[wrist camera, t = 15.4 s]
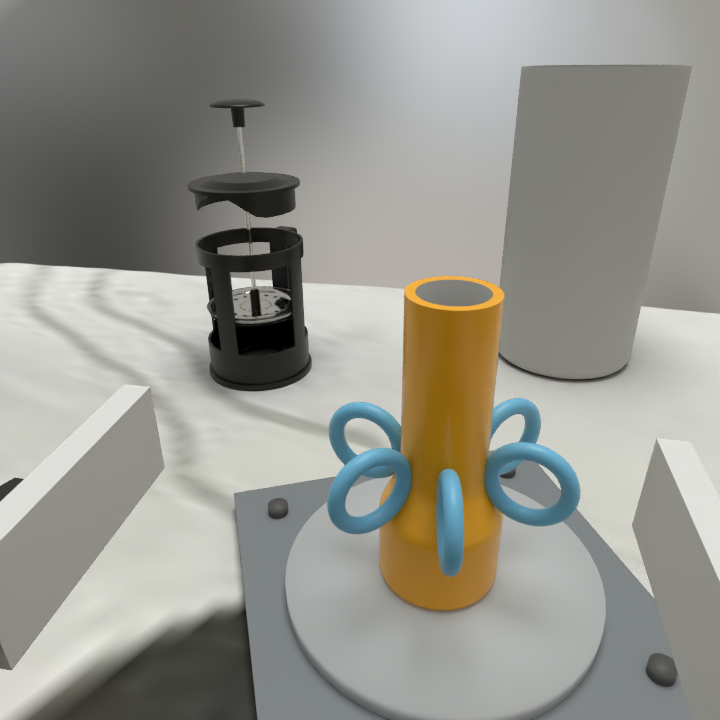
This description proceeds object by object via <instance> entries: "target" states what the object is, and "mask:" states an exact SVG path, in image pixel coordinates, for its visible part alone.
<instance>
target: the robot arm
mask: <svg viewBox="0 0 720 720" xmlns="http://www.w3.org/2000/svg"><path fill="white" fill-rule="evenodd" d="M164 468H165V467H164V461H163V456H162V450H161V445H160V439H159V434H158V428H157V423H156V417H155V412H154V406H153V400H152V395H151V389H150V387H145V386H135V385H126V384H124V385H123V386H122V387H121V388H120V389H119V390H118V391H117V392H116V393H115V394H114V395H113V396H112V397H110V398H109V399H108V400H107V401H106V402H105V403H104V404H103V405H102V406H101V407H100V408H99V409H98V410H97V411H96V412H95V413H94V414H92V415H91V416H90V417H89V418H88V419H87V420H86V421H85V422H84V423H83V424H82V425H81V426H80V427H79V428H78V429H77V430H76V431H75V432H73V433H72V434H71V435H70V436H69V437H68V438H67V439H66V440H65V441H64V442H63V443H62V444H61V445H60V446H59V447H58V448H57V449H55V450H54V451H53V452H52V453H51V454H50V455H49V456H48V457H47V458H46V459H45V460H44V461H43V462H42V463H41V464H40V465H39V466H37V467H36V468H35V469H34V470H33V471H32V472H31V473H30V474H29V475H28V476H27V477H26V478H25V479H20V478H14V479H12V480H10V481H8V482H6V483H5V484H3V485H1V486H0V668H1V669H7V670H12V669H13V668H14V667H15V665H16V664H17V663H18V661H19V660H20V659H21V657H22V656H23V655H24V653H25V652H26V651H27V649H28V648H29V647H30V645H31V644H32V643H33V641H34V640H35V639H36V637H37V636H38V635H39V634H40V632H41V631H42V630H43V628H44V627H45V626H46V624H47V623H48V622H49V620H50V619H51V618H52V616H53V615H54V614H55V612H56V611H57V610H58V608H59V607H60V606H61V604H62V603H63V602H64V600H65V599H66V598H67V596H68V595H69V594H70V592H71V591H72V590H73V588H74V587H75V586H76V584H77V583H78V582H79V580H80V579H81V578H82V576H83V575H84V574H85V572H86V571H87V570H88V569H89V567H90V566H91V565H92V563H93V562H94V561H95V559H96V558H97V557H98V555H99V554H100V553H101V551H102V550H103V549H104V547H105V546H106V545H107V543H108V542H109V541H110V539H111V538H112V537H113V535H114V534H115V533H116V531H117V530H118V529H119V527H120V526H121V525H122V523H123V522H124V521H125V519H126V518H127V517H128V515H129V514H130V513H131V511H132V510H133V509H134V508H135V506H136V505H137V504H138V502H139V501H140V500H141V498H142V497H143V496H144V494H145V493H146V492H147V490H148V489H149V488H150V486H151V485H152V484H153V482H154V481H155V480H156V478H157V477H158V476H159V474H160V473H161V472H162V470H163V469H164ZM632 527H633V530H634V533H635V536H636V540H637V543H638V546H639V549H640V552H641V556H642V559H643V562H644V565H645V569H646V572H647V575H648V578H649V582H650V585H651V588H652V591H653V594H654V598H655V601H656V604H657V607H658V611H659V614H660V617H661V620H662V623H663V627H664V630H665V633H666V636H667V640H668V643H669V646H670V649H671V653H672V656H673V659H674V662H675V665H676V669H677V672H678V675H679V678H680V682H681V685H682V688H683V691H684V694H685V698H686V701H687V704H688V707H689V711H690V714H691V717H692V720H720V497H719V495H718V493H717V491H716V489H715V488H714V486H713V484H712V482H711V480H710V478H709V476H708V474H707V472H706V470H705V468H704V467H703V465H702V463H701V461H700V459H699V457H698V455H697V453H696V451H695V449H694V447H693V445H692V444H691V442H687V441H678V440H668V439H658V438H657V439H656V442H655V446H654V449H653V453H652V456H651V460H650V463H649V467H648V471H647V474H646V478H645V481H644V485H643V488H642V492H641V495H640V499H639V502H638V506H637V509H636V513H635V517H634V520H633V524H632Z"/></svg>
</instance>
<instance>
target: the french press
mask: <svg viewBox="0 0 720 720" xmlns="http://www.w3.org/2000/svg"><path fill="white" fill-rule="evenodd" d="M209 106H210V107H213V108H231V114H232V121H233V126H234V127H237V134H238V143H239V144H238V145H239V155H240V166H241V172H238V173H228V174H222V175H214V176H209V177H203V178H199V179H196V180H193V181H191V182H189V184H188V190H189V191H191V192H193V193H195V201H196V208H197V210H199V209H200V208H202V207H203V206H205V205H208V204H211V203H215V202H220V201H226V200H228V201H230V202H232V203H234V204H236V205H237V206H239V207H240V208H242V209H243V210H245V218H246V228H241V229H232V230H226V231H221V232H217V233H213V234H210V235H207V236H205V237H203V238H201V239H199V240H198V241H197V243H196V251H197V259H198V262H199V263H200V265H202V266H204V267H205V269H206V277H207V285H208V293H209V300H210V301H209V303H208V305H207V309H208V311H209V312H210V314H211V316H212V323H213V331H212V332H211V333H210V335H209V337H208V340H209V348H210V356H211V364H210V374H211V376H212V377H213V379H214V380H215V381H216V382H217V383H219V384H221V385H223V386H226V387H229V388H232V389H238V390H247V391H258V390H269V389H275V388H279V387H283V386H286V385H289V384H292V383H294V382H296V381H298V380H299V379H301V378H302V377H304V376H305V375H306V374H307V373H308V372H309V370H310V368H311V362H312V360H311V356H310V354H309V349H308V331H307V328H306V327H305V326H304V308H303V290H302V272H301V258H302V257H303V238H302V236H301V235H299V234H298V233H297V229H296V228H293V227H284V226H279V227H276V228H251V225H250V214H252V215H254V216H256V217H264V218H267V217H273V216H278V215H282V214H285V213H288V212H290V211H292V210H294V209H295V188H296V187H298V186H299V185H300V181H299V179H298V178H296V177H294V176H290V175H285V174H277V173H262V172H246V171H245V160H244V149H243V138H242V127H245V117H244V108H247V107H260V106H264V103H262V102H260V101H257V100H251V99H228V100H220V101H216V102H213V103H211V104H210V105H209ZM249 213H250V214H249ZM246 242H248V250H249V255H248V256H232V255H231V256H230V255H219V254H218V252H217V248H218V247H222V246H225V245H231V244H237V243H246ZM252 242H270V253H269V254H261V255H253V248H252ZM265 270H272V280H273V287H266V286H262V287H256V280H255V272H256V271H265ZM230 272H251V282H252V287H247V288H241V289H236V290H232V285H231V276H230ZM256 348H277V349H283V350H281V351H278V352H273V353H267V354H259V355H242V354H239V353H240V352H242V351H246V350H250V349H256Z"/></svg>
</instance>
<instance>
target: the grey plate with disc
mask: <svg viewBox="0 0 720 720" xmlns="http://www.w3.org/2000/svg"><path fill="white" fill-rule="evenodd" d="M493 452H494V451H489V456H490V455H491V454H492V453H493ZM393 475H394V474H393ZM393 475H392V476H393ZM392 476H389V477H386V478H369V477H365V476H362V475H361V476H360V477H359V478H358V479H357V480H356V481H355V483H354V484H353V485H352V487H351V488H350V490H349V492H348V494H347V497H346V502H345V507H346V511H347V512H348V514H350V515H351V516H357V517H358V516H364V515H367V514H369V513H371V512H373V511H375V510H376V509H377V508H379V506H380V498H381V495H382V492H383V490H384V488H385V486H386V485H387V483H388V482H389V480H390V479H391V478H392ZM335 478H336V477H330V478H324V479H318V480H312V481H306V482H300V483H294V484H288V485H281V486H275V487H269V488H263V489H257V490H251V491H245V492H239V493H234V499H235V508H236V518H237V528H238V537H239V547H240V556H241V566H242V575H243V585H244V595H245V604H246V614H247V623H248V633H249V642H250V652H251V662H252V671H253V681H254V690H255V700H256V709H257V719H258V720H692V717H691V714H690V711H689V707H688V704H687V701H686V698H685V694H684V691H683V688H682V685H681V682H680V678H679V675H678V672H677V669H676V665H675V662H674V659H673V656H672V653H671V649H670V646H669V643H668V640H667V636H666V633H665V630H664V627H663V623H662V620H661V617H660V614H659V611H658V607H657V604H656V601H655V599H654V598H653V597H652V596H651V595H650V593H649V592H648V591H647V590H646V589H645V588H644V586H643V585H642V584H641V583H640V582H639V581H638V580H637V578H636V577H635V576H634V575H633V574H632V573H631V571H630V570H629V569H628V568H627V567H626V566H625V564H624V563H623V562H622V561H621V560H620V559H619V558H618V556H617V555H616V554H615V553H614V552H613V551H612V549H611V548H610V547H609V546H608V545H607V544H606V542H605V541H604V540H603V539H602V538H601V537H600V536H599V534H598V533H597V532H596V531H595V530H594V529H593V527H592V526H591V525H590V524H589V523H588V522H587V520H586V519H585V518H584V517H583V516H582V515H581V514H580V512H579V511H578V510H577V509H575V511H574V512H573V513H572V514H571V515H570V516H569V517H568V518H567V519H566V520H564V521H562V522H560V523H558V524H555V525H551V526H542V527H539V526H530V525H525V524H522V523H519V522H517V521H514V520H512V519H510V518H509V517H507V516H506V515H504V514H503V524H502V532H501V540H500V548H499V556H498V565H497V572H496V577H495V581H494V583H493V585H492V587H491V588H490V590H489V591H488V592H487V593H486V594H485V595H484V597H483V598H481V599H480V600H478V601H477V602H476V603H474V604H472V605H469V606H467V607H465V608H460V609H456V610H445V611H439V610H430V609H426V608H422V607H418V606H416V605H414V604H412V603H409V602H407V601H405V600H404V599H403V598H401V597H399V596H398V595H397V594H396V593H395V592H394V591H393V590H392V589H390V587H389V585H388V584H387V583H386V581H385V579H384V577H383V575H382V573H381V569H380V564H379V528H378V529H376V530H374V531H372V532H369V533H365V534H349V533H345V532H343V531H341V530H339V529H338V528H337V527H336V526H335V525H334V524H333V523H332V521H331V519H330V517H329V514H328V509H327V499H328V494H329V491H330V488H331V485H332V483H333V481H334V479H335ZM500 484H501V487H502V489H503V490H504V492H505V493H506V494H507V495H508V496H509V497H510V498H511V499H512V500H513V501H515V502H516V503H518V504H520V505H522V506H525V507H528V508H533V509H544V508H548V507H551V506H553V505H554V504H556V503H557V502H558V500H559V499H560V496H561V490H560V489H559V488H558V487H557V486H556V485H555V483H554V482H553V481H552V480H551V479H550V478H549V476H548V475H547V474H546V473H545V472H544V471H543V469H542V468H541V467H540V466H539V465H538V464H537V463H535V462H532V461H526V460H524V461H523V462H522V463H521V464H520V465H519V466H517V467H516V468H515V469H513V470H512V471H510V472H508V473H505V474H502V475H500Z"/></svg>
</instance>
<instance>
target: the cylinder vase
mask: <svg viewBox="0 0 720 720" xmlns="http://www.w3.org/2000/svg"><path fill="white" fill-rule="evenodd" d="M691 69H692V66H691V65H552V66H551V65H546V66H522V68H521V79H520V88H519V98H518V109H517V118H516V128H515V138H514V148H513V159H512V168H511V178H510V188H509V198H508V208H507V218H506V229H505V238H504V249H503V258H502V268H501V279H500V289H502V291H503V292H504V305H503V315H502V325H501V335H500V345H499V353H500V354H501V355H502V356H503V357H504V358H505V359H507V360H508V361H509V362H511V363H512V364H514V365H516V366H518V367H520V368H522V369H525V370H527V371H530V372H533V373H536V374H540V375H544V376H549V377H555V378H563V379H591V378H598V377H603V376H607V375H610V374H612V373H615V372H616V371H618V370H620V369H621V368H623V367H624V366H625V365H626V363H627V362H628V360H629V358H630V355H631V350H632V345H633V341H634V336H635V331H636V327H637V322H638V317H639V313H640V308H641V303H642V299H643V294H644V288H645V285H646V280H647V275H648V271H649V266H650V261H651V257H652V252H653V247H654V242H655V238H656V233H657V228H658V224H659V219H660V214H661V210H662V205H663V200H664V196H665V191H666V186H667V181H668V177H669V172H670V167H671V163H672V158H673V153H674V149H675V144H676V140H677V135H678V130H679V125H680V121H681V116H682V111H683V106H684V102H685V97H686V92H687V88H688V83H689V79H690V74H691Z"/></svg>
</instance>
